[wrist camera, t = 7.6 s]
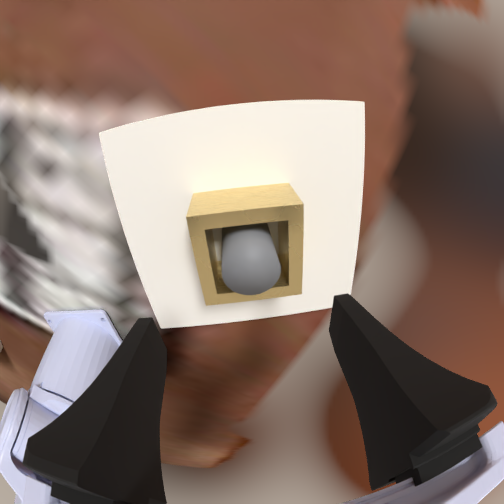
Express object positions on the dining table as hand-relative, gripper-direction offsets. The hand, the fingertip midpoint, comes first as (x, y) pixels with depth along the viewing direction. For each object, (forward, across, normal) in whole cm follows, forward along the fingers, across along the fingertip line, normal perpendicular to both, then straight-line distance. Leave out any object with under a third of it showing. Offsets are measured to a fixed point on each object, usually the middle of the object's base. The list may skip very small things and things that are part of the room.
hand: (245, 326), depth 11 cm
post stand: (+9, -1, 0) cm, 9 cm away
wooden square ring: (+8, -1, 0) cm, 8 cm away
